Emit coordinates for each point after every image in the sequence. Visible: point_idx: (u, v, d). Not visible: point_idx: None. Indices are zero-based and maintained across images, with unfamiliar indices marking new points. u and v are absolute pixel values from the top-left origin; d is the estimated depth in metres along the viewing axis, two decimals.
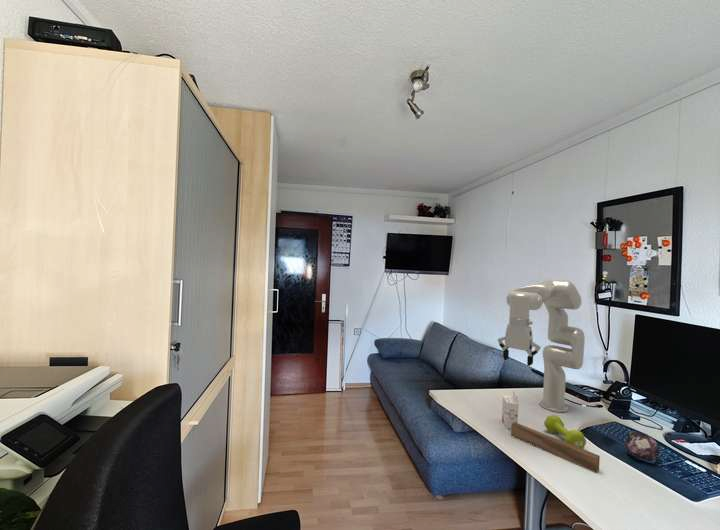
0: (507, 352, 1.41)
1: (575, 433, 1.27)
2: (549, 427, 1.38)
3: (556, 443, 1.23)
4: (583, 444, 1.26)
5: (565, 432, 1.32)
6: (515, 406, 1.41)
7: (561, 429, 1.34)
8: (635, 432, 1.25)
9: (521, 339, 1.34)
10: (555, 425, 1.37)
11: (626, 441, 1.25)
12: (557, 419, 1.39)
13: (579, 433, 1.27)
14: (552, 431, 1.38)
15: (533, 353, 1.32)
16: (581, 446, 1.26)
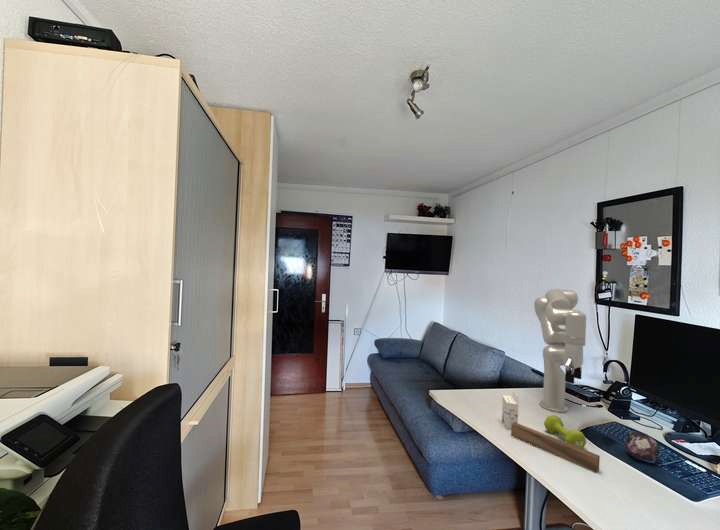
0: None
1: (575, 433, 1.27)
2: (549, 427, 1.38)
3: (556, 443, 1.23)
4: (583, 444, 1.26)
5: (565, 432, 1.32)
6: (515, 406, 1.41)
7: (561, 429, 1.34)
8: (635, 432, 1.25)
9: (581, 356, 1.40)
10: (555, 425, 1.37)
11: (626, 441, 1.25)
12: (557, 419, 1.39)
13: (579, 433, 1.27)
14: (552, 431, 1.38)
15: (580, 366, 1.43)
16: (581, 446, 1.26)
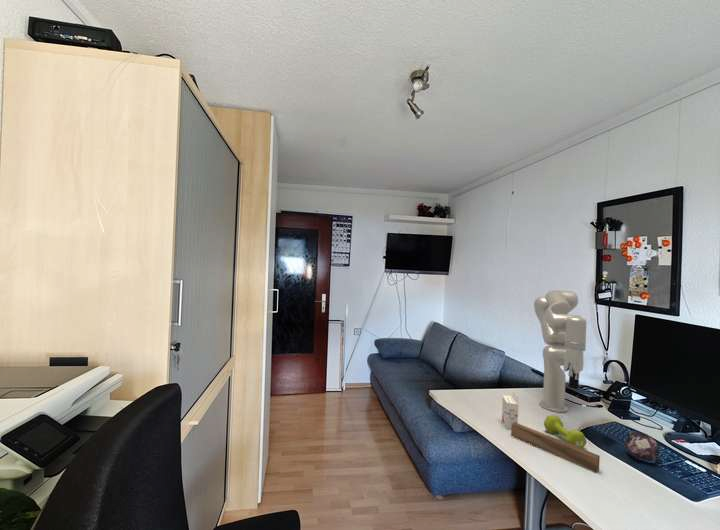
0: None
1: (576, 433, 1.27)
2: (549, 427, 1.38)
3: (556, 443, 1.23)
4: (583, 444, 1.26)
5: (565, 432, 1.32)
6: (515, 406, 1.41)
7: (561, 429, 1.34)
8: (635, 432, 1.25)
9: (581, 361, 1.39)
10: (555, 425, 1.37)
11: (626, 441, 1.25)
12: (557, 419, 1.39)
13: (579, 433, 1.27)
14: (552, 431, 1.38)
15: None
16: (581, 446, 1.26)
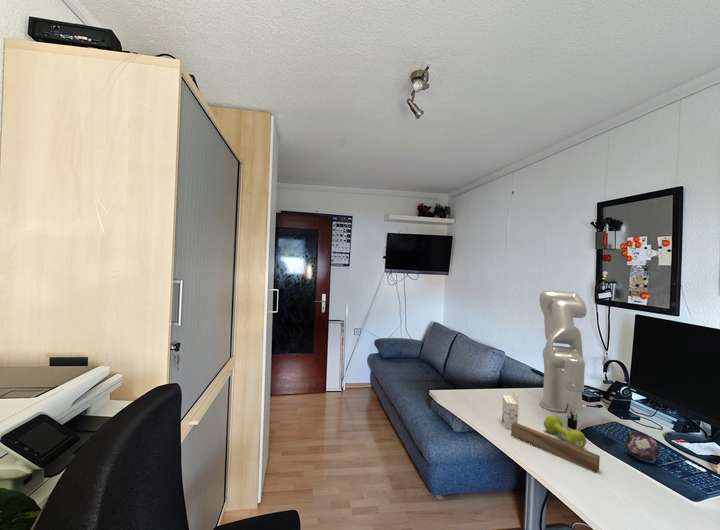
0: None
1: (576, 433, 1.27)
2: (549, 427, 1.38)
3: (556, 443, 1.23)
4: (583, 444, 1.26)
5: (565, 432, 1.32)
6: (515, 406, 1.41)
7: (561, 429, 1.34)
8: (635, 432, 1.25)
9: (580, 401, 1.40)
10: (555, 425, 1.37)
11: (626, 441, 1.25)
12: (556, 419, 1.39)
13: (579, 433, 1.27)
14: (551, 431, 1.38)
15: (576, 415, 1.41)
16: (581, 446, 1.26)
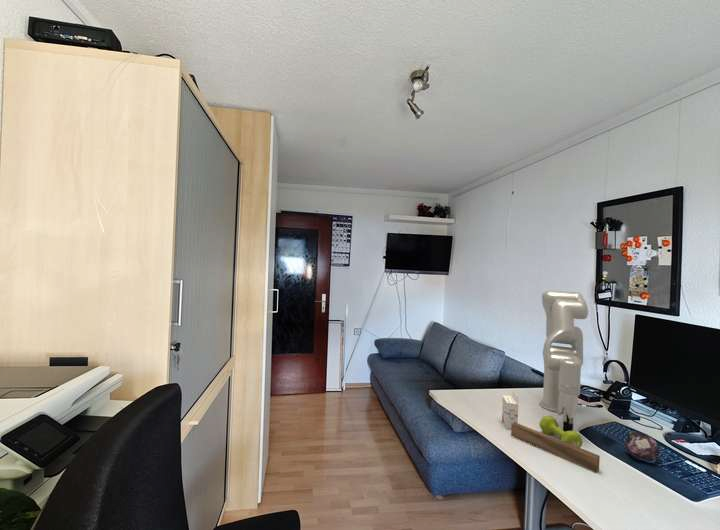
0: None
1: (572, 434, 1.26)
2: (544, 428, 1.37)
3: (556, 443, 1.23)
4: (580, 445, 1.26)
5: (561, 433, 1.31)
6: (515, 406, 1.41)
7: (557, 430, 1.33)
8: (635, 432, 1.25)
9: (576, 404, 1.36)
10: (550, 426, 1.37)
11: (626, 441, 1.25)
12: (552, 419, 1.38)
13: (576, 434, 1.26)
14: (547, 432, 1.37)
15: None
16: None
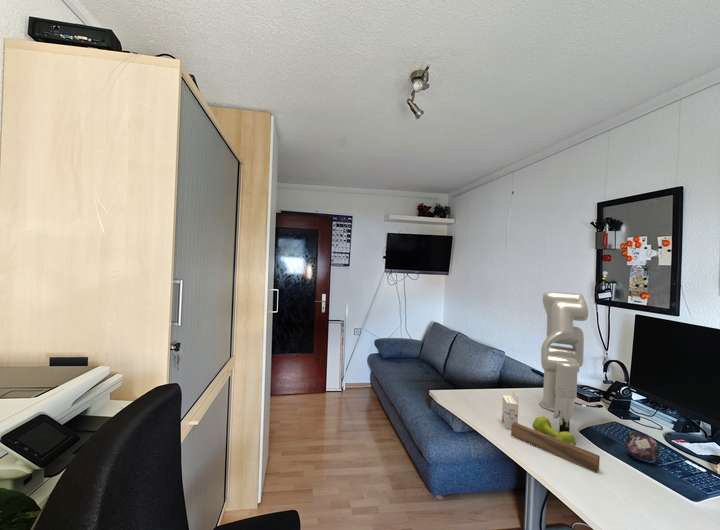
0: None
1: (566, 435, 1.25)
2: (538, 429, 1.36)
3: (556, 443, 1.23)
4: None
5: (555, 434, 1.30)
6: (515, 406, 1.41)
7: (550, 431, 1.32)
8: (635, 432, 1.25)
9: (572, 407, 1.34)
10: (544, 427, 1.36)
11: (626, 441, 1.25)
12: (545, 420, 1.37)
13: (570, 434, 1.25)
14: None
15: None
16: None
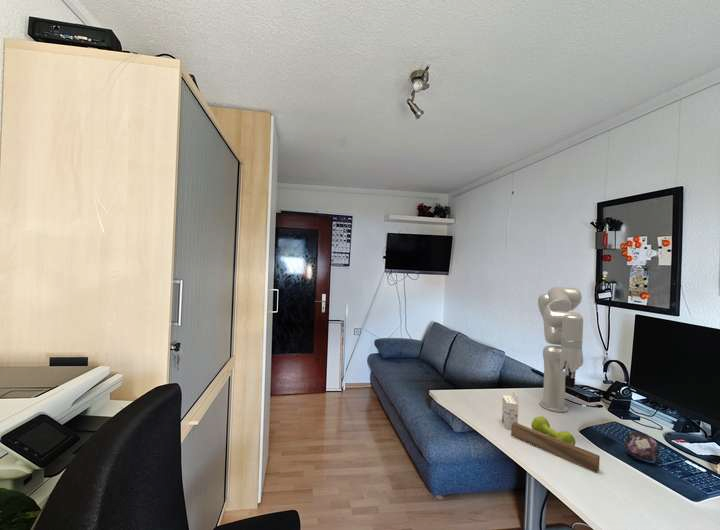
0: None
1: (566, 435, 1.25)
2: (537, 429, 1.36)
3: (556, 443, 1.23)
4: None
5: (554, 434, 1.30)
6: (515, 406, 1.41)
7: (550, 431, 1.32)
8: (635, 432, 1.25)
9: (578, 359, 1.37)
10: (543, 427, 1.36)
11: (626, 441, 1.25)
12: (544, 420, 1.37)
13: (569, 434, 1.25)
14: None
15: None
16: None
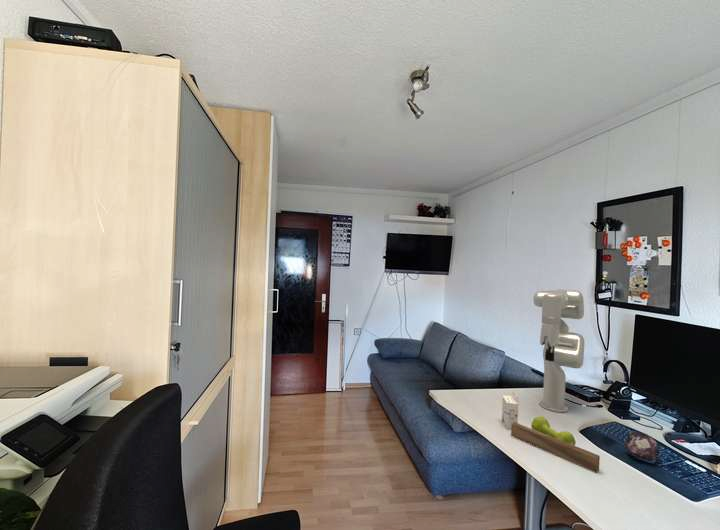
0: None
1: (566, 435, 1.25)
2: (537, 429, 1.36)
3: (556, 443, 1.23)
4: None
5: (554, 434, 1.30)
6: (515, 406, 1.41)
7: (550, 431, 1.32)
8: (635, 432, 1.25)
9: (557, 335, 1.48)
10: (542, 427, 1.36)
11: (626, 441, 1.25)
12: (544, 420, 1.37)
13: (569, 434, 1.25)
14: None
15: None
16: None
